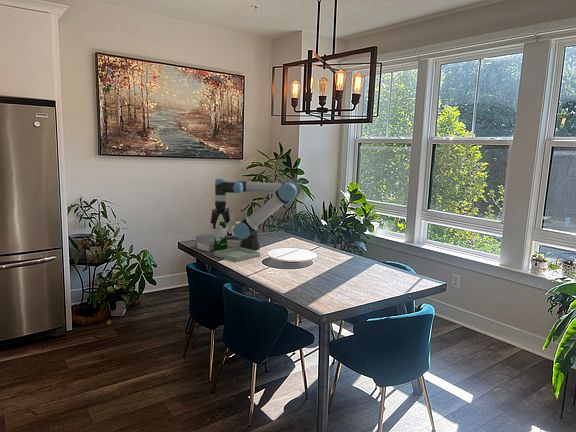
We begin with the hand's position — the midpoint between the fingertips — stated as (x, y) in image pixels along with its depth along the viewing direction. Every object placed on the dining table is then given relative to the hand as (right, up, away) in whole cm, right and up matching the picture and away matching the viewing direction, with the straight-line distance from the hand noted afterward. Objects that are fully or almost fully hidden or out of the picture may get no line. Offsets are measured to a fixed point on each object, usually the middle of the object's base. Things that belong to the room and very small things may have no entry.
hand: (220, 232), depth 299 cm
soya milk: (0, -12, +2) cm, 13 cm away
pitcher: (+9, -7, +45) cm, 47 cm away
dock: (-8, -12, +8) cm, 16 cm away
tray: (+13, -16, -12) cm, 24 cm away
